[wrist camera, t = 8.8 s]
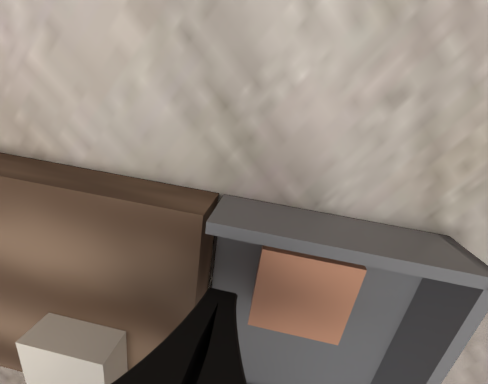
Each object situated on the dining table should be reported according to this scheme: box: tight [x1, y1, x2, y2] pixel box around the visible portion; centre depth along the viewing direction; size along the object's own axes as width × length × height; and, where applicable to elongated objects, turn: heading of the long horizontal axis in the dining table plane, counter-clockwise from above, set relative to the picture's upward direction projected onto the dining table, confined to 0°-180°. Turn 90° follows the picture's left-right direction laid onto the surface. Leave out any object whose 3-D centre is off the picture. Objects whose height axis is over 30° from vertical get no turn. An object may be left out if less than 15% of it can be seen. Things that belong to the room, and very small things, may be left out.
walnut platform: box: [0, 153, 219, 372], centre depth 16 cm, size 15×15×3 cm
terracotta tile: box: [248, 245, 367, 345], centre depth 13 cm, size 5×5×2 cm
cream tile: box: [15, 313, 128, 384], centre depth 14 cm, size 5×5×2 cm
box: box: [205, 195, 488, 384], centre depth 14 cm, size 15×12×4 cm
